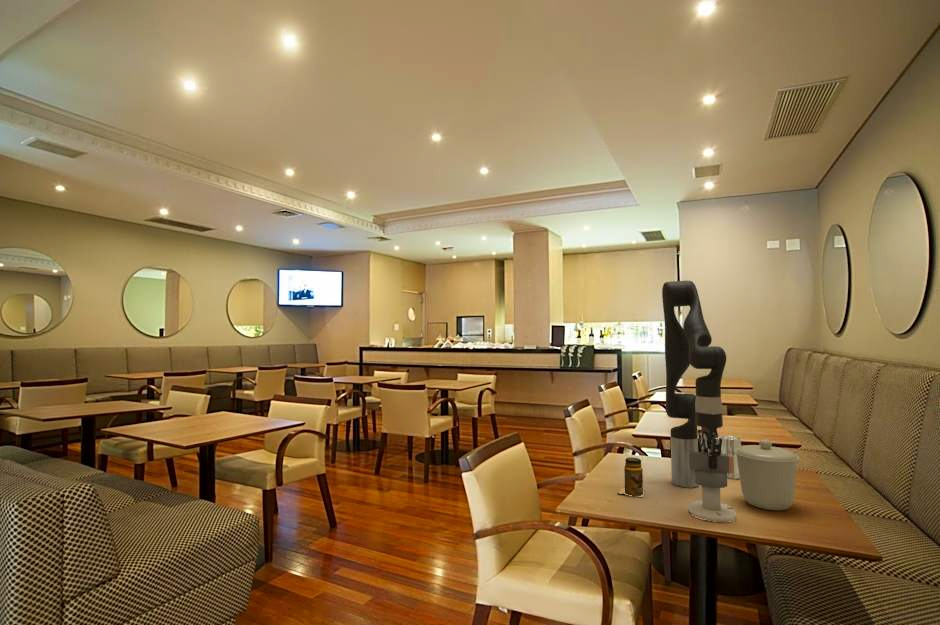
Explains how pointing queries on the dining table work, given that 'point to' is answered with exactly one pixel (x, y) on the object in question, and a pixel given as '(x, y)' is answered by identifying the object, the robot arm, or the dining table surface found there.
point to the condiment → (633, 477)
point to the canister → (767, 475)
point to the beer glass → (731, 452)
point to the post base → (712, 514)
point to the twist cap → (711, 476)
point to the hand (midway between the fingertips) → (710, 466)
